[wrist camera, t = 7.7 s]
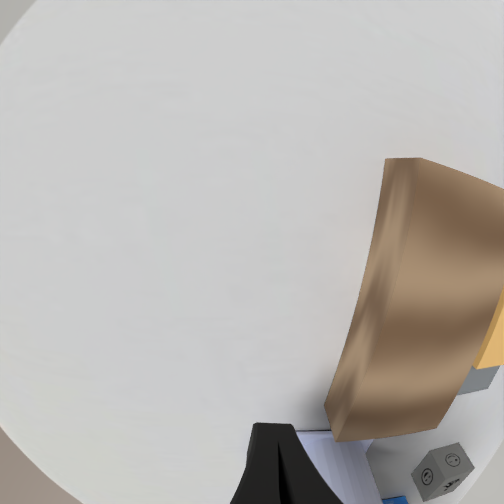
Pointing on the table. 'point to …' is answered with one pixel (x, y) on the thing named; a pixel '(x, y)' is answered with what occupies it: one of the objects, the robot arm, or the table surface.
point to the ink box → (396, 500)
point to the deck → (419, 301)
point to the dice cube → (442, 471)
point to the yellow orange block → (493, 340)
